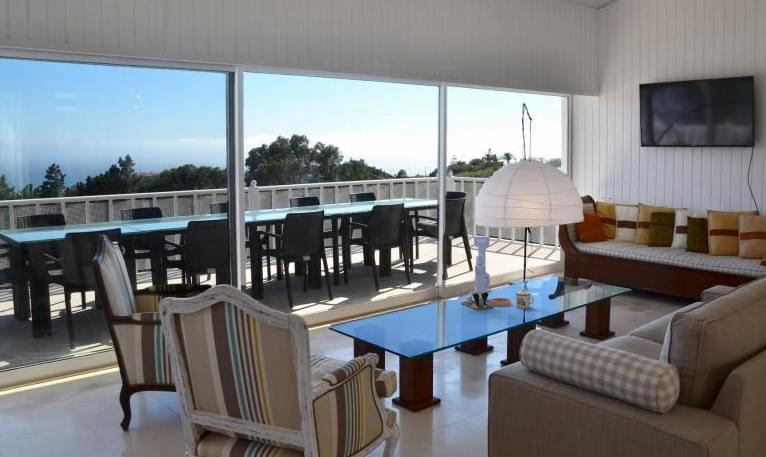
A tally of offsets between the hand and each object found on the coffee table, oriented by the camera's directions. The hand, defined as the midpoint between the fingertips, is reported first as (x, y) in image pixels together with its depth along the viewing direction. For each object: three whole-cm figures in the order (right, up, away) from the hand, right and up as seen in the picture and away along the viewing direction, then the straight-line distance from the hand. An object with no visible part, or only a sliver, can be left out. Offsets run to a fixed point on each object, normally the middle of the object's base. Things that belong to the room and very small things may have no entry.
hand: (480, 304), depth 448 cm
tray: (-2, -2, +4) cm, 4 cm away
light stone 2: (-1, 0, +10) cm, 10 cm away
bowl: (+14, -1, +8) cm, 16 cm away
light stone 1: (-6, -1, +7) cm, 10 cm away
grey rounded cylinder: (0, -1, 0) cm, 1 cm away
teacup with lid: (+28, -2, 0) cm, 28 cm away
